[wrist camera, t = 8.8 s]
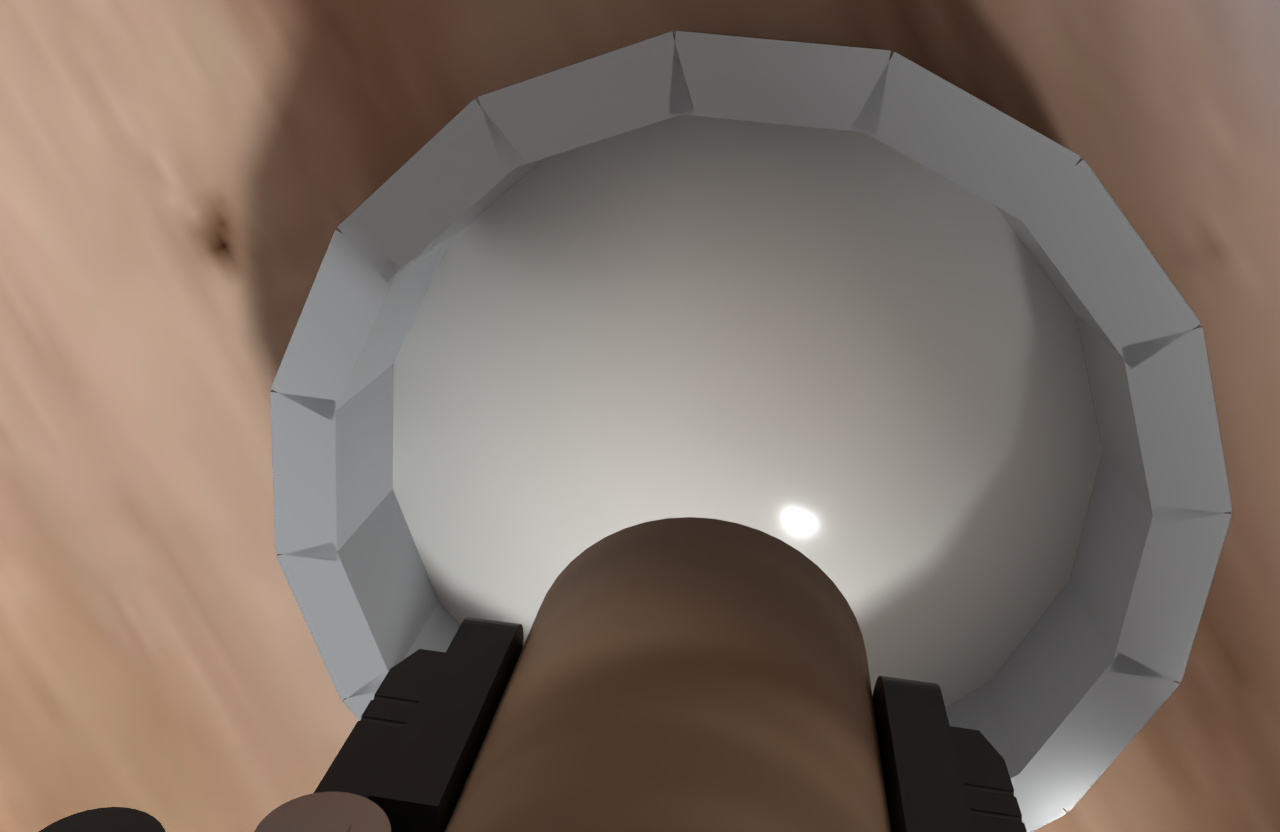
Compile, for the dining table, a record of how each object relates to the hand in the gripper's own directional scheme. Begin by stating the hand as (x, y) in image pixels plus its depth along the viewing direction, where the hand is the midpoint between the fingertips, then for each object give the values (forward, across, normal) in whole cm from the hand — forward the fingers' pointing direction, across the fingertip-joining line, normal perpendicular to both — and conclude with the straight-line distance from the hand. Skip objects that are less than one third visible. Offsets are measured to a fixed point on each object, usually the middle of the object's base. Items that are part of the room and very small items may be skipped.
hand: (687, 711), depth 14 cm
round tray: (+9, 0, 0) cm, 9 cm away
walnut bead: (+1, 0, 0) cm, 1 cm away
